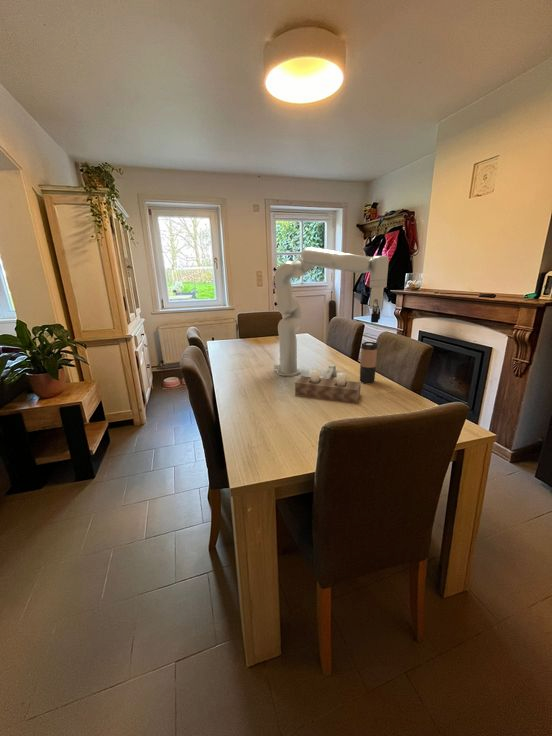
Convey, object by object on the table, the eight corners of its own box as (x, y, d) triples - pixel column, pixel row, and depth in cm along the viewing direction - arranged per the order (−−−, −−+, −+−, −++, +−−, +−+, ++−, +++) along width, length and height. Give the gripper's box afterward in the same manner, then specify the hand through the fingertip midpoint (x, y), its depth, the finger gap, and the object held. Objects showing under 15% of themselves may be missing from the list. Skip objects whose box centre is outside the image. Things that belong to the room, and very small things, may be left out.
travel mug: (376, 383, 153) (379, 345, 147) (361, 384, 153) (363, 345, 147) (372, 378, 160) (375, 341, 154) (357, 378, 161) (359, 341, 155)
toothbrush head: (316, 381, 148) (328, 360, 169) (316, 393, 151) (328, 371, 172) (327, 382, 146) (338, 361, 167) (327, 394, 149) (338, 372, 170)
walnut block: (295, 394, 142) (295, 382, 140) (301, 387, 151) (301, 376, 149) (356, 403, 132) (357, 390, 130) (359, 394, 141) (360, 382, 139)
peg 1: (309, 383, 141) (309, 371, 139) (312, 380, 144) (312, 369, 143) (318, 384, 139) (318, 372, 138) (320, 381, 143) (320, 370, 141)
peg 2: (335, 386, 136) (335, 374, 135) (337, 383, 140) (337, 371, 138) (344, 387, 135) (344, 375, 133) (346, 384, 139) (346, 372, 137)
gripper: (371, 283, 150) (369, 318, 156) (367, 285, 135) (365, 323, 140) (387, 283, 148) (384, 318, 153) (385, 284, 133) (382, 324, 138)
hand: (375, 320), depth 147 cm, fingers open, 9 cm apart
